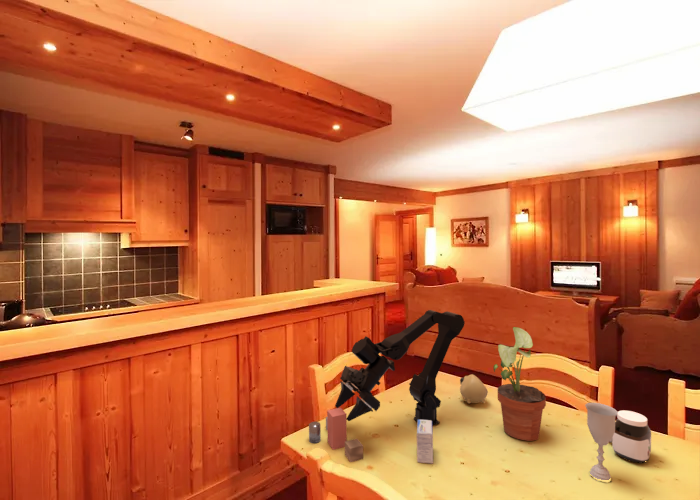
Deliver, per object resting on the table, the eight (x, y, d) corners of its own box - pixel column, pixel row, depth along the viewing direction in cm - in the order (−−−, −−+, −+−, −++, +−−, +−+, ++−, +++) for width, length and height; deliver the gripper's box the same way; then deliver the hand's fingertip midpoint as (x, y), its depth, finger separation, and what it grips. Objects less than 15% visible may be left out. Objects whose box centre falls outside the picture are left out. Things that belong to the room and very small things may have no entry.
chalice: (578, 468, 99) (578, 403, 98) (601, 467, 100) (602, 401, 99) (598, 486, 92) (599, 416, 91) (624, 485, 92) (625, 414, 92)
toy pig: (481, 395, 146) (481, 368, 145) (491, 409, 134) (491, 380, 133) (456, 394, 146) (456, 368, 146) (463, 408, 134) (463, 380, 134)
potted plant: (489, 419, 126) (489, 318, 125) (537, 423, 123) (538, 320, 122) (498, 444, 111) (498, 330, 110) (553, 450, 108) (554, 332, 106)
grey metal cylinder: (318, 436, 117) (318, 420, 117) (322, 441, 113) (322, 425, 113) (307, 438, 115) (307, 423, 115) (311, 444, 112) (310, 428, 112)
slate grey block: (337, 426, 123) (337, 414, 123) (341, 432, 119) (341, 420, 119) (325, 429, 121) (325, 417, 121) (330, 434, 118) (330, 422, 117)
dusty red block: (341, 438, 115) (340, 407, 115) (346, 446, 111) (346, 413, 111) (327, 442, 113) (327, 410, 113) (332, 449, 109) (332, 416, 109)
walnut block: (357, 451, 108) (357, 438, 108) (363, 459, 104) (362, 445, 104) (344, 455, 107) (344, 441, 106) (350, 462, 103) (350, 448, 103)
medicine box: (433, 464, 102) (433, 433, 101) (416, 462, 102) (416, 432, 102) (432, 448, 109) (432, 420, 109) (417, 446, 110) (417, 418, 110)
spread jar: (640, 469, 99) (640, 426, 98) (594, 448, 108) (594, 410, 108) (657, 454, 105) (658, 414, 105) (613, 436, 115) (613, 400, 114)
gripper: (345, 349, 123) (314, 387, 118) (370, 366, 105) (335, 411, 101) (366, 368, 126) (336, 406, 122) (394, 389, 109) (361, 433, 105)
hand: (341, 413), depth 112 cm, fingers open, 9 cm apart
